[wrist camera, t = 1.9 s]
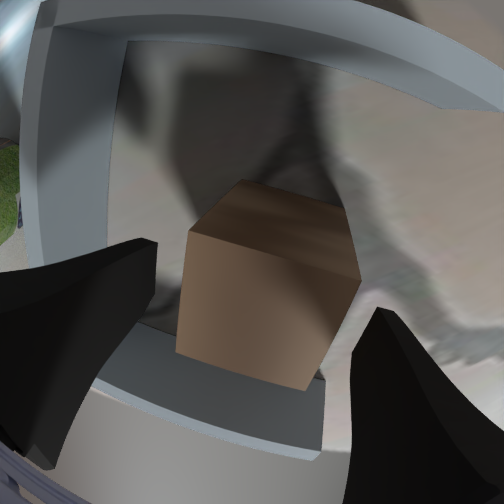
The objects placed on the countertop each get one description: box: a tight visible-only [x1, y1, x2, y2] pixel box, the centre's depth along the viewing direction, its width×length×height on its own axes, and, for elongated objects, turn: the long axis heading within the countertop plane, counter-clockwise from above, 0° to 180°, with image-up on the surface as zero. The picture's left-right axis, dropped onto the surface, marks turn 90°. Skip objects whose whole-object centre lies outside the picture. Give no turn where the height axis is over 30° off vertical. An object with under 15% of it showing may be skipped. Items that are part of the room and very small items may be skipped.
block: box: [175, 179, 362, 391], centre depth 11 cm, size 4×4×6 cm
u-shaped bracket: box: [19, 0, 504, 461], centre depth 12 cm, size 15×18×5 cm
